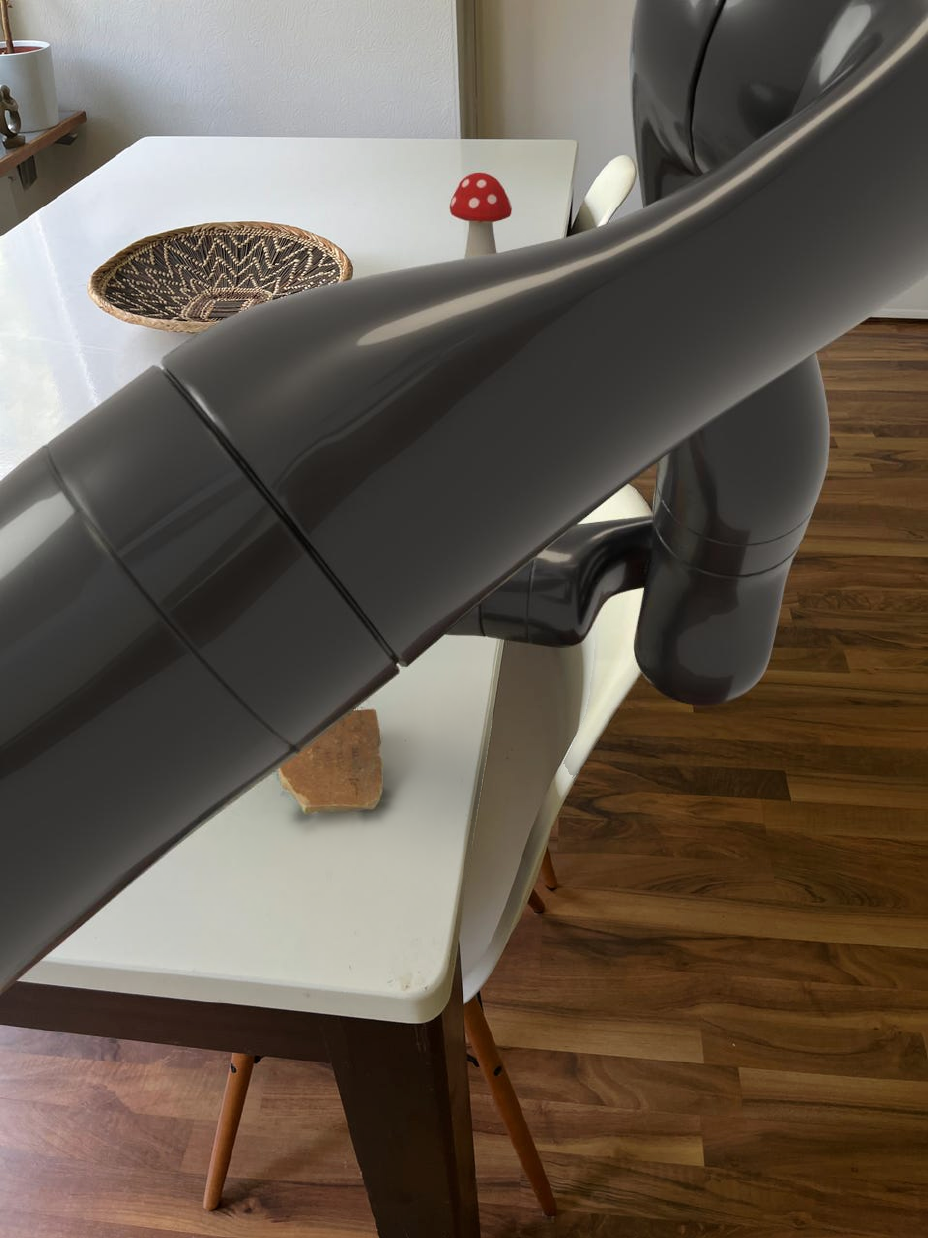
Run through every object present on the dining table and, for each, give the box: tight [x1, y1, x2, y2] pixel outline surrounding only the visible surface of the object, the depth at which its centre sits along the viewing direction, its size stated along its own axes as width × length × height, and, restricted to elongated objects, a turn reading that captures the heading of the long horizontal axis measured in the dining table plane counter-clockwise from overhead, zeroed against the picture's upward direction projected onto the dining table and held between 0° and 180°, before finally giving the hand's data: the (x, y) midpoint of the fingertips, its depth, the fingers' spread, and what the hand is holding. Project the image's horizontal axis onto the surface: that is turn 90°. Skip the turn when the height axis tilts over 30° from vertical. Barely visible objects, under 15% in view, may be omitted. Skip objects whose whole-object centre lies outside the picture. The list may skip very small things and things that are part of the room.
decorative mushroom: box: [449, 172, 513, 259], centre depth 150 cm, size 10×9×15 cm
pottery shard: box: [277, 708, 384, 815], centre depth 71 cm, size 10×9×2 cm
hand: (163, 529), depth 62 cm, fingers closed on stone, 4 cm apart
